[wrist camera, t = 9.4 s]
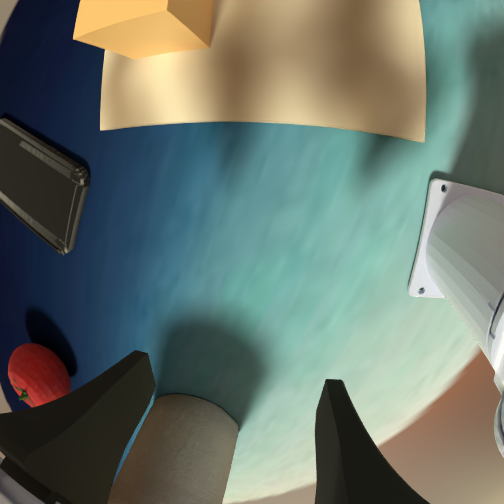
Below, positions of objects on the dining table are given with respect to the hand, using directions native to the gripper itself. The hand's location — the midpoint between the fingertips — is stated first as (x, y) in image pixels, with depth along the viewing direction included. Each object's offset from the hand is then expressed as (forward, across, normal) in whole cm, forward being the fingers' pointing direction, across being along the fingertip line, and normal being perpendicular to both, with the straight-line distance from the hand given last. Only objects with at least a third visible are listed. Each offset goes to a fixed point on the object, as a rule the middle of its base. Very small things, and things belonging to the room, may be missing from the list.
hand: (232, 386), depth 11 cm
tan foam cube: (+8, +6, -17) cm, 20 cm away
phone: (+10, +21, -7) cm, 24 cm away
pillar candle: (+10, +6, +18) cm, 21 cm away
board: (+9, +1, -17) cm, 19 cm away
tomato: (+10, +25, +15) cm, 31 cm away
